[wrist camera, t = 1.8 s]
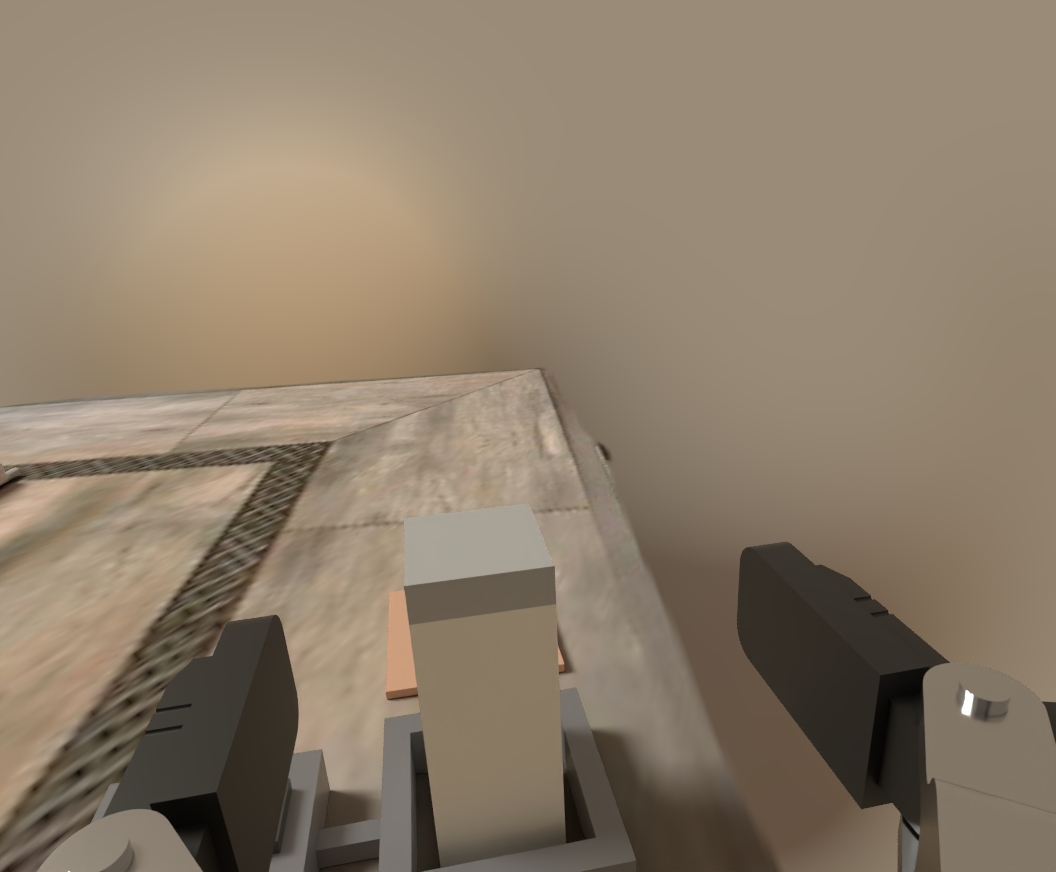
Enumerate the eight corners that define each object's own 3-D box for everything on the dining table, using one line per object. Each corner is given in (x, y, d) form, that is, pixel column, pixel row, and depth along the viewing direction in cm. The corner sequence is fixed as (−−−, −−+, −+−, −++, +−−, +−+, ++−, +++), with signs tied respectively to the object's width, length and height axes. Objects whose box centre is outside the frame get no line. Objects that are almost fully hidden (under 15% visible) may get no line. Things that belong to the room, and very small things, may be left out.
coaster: (386, 699, 37) (385, 691, 37) (390, 598, 46) (389, 592, 46) (564, 671, 38) (564, 664, 38) (533, 579, 48) (533, 572, 48)
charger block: (443, 890, 27) (404, 586, 22) (437, 788, 31) (404, 517, 27) (566, 866, 27) (554, 566, 23) (543, 769, 32) (528, 503, 27)
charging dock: (29, 1036, 23) (0, 977, 22) (134, 802, 31) (117, 752, 30) (636, 907, 26) (636, 850, 25) (577, 727, 34) (576, 679, 33)
